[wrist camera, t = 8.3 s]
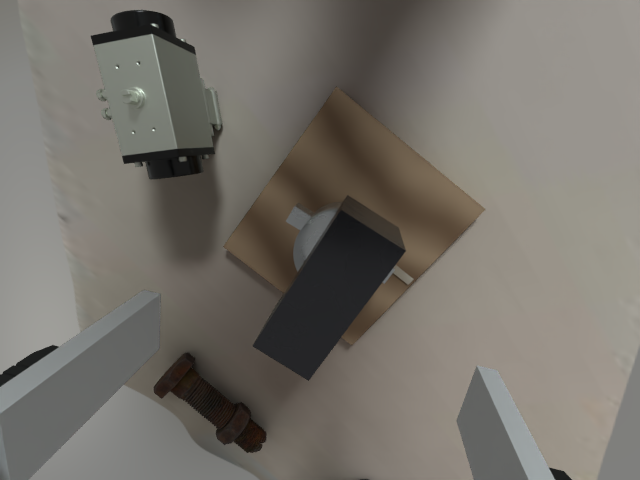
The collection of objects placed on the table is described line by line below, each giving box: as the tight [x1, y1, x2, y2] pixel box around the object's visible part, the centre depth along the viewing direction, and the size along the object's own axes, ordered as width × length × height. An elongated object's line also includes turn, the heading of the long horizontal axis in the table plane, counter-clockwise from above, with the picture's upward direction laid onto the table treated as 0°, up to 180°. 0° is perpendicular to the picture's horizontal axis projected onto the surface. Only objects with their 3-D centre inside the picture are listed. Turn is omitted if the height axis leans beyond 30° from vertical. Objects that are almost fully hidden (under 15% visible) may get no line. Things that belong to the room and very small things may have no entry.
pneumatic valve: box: [91, 10, 222, 179], centre depth 30 cm, size 6×12×12 cm, turn 6°
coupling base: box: [223, 87, 485, 345], centre depth 34 cm, size 20×18×5 cm
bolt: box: [154, 353, 266, 453], centre depth 43 cm, size 6×5×15 cm
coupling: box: [253, 195, 406, 381], centre depth 25 cm, size 10×10×13 cm
